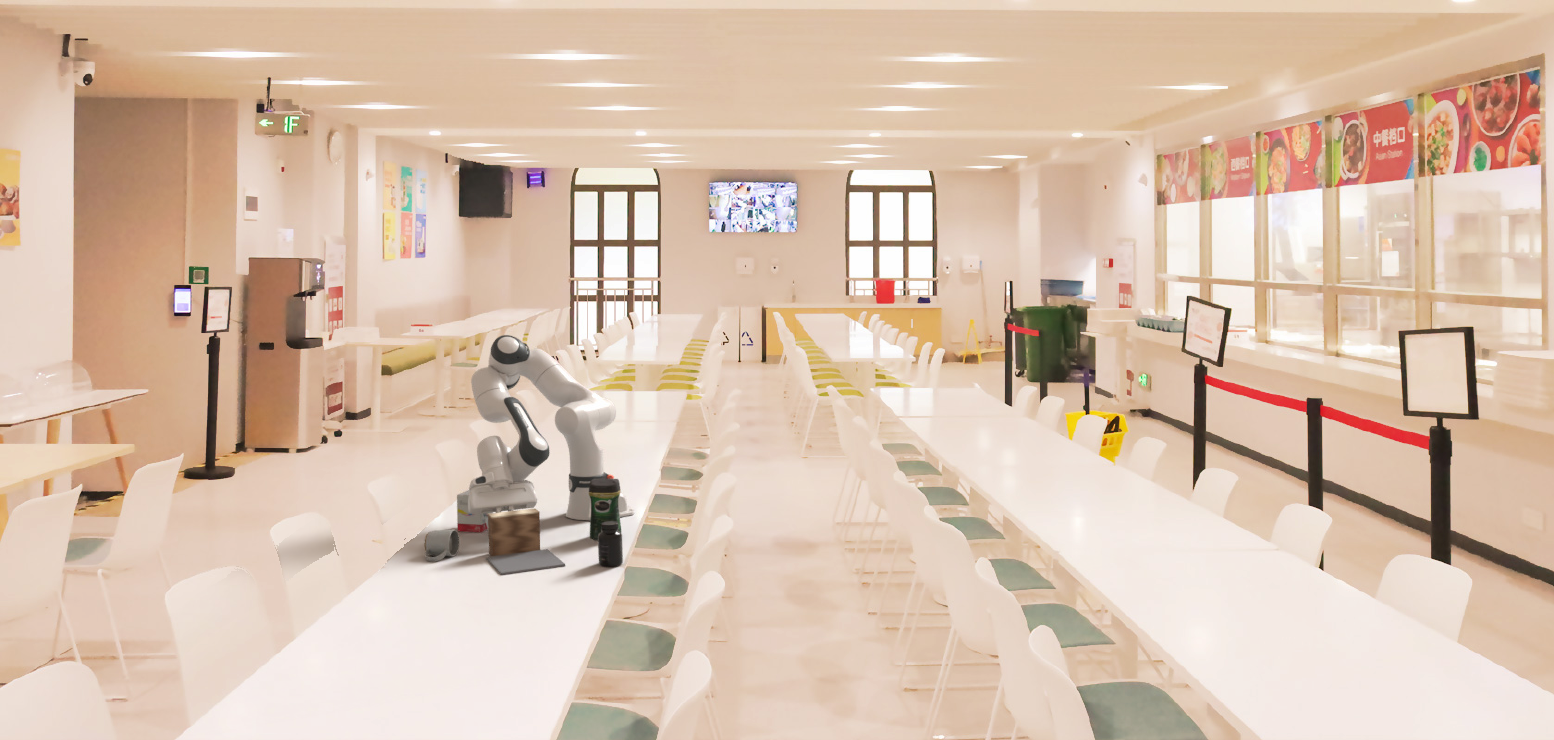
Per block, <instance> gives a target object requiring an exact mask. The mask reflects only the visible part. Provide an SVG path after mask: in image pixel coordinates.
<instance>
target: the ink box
mask: <svg viewBox="0 0 1554 740" xmlns="http://www.w3.org/2000/svg"><path fill="white" fill-rule="evenodd" d="M468 497H469V489H468V490H466V491H463V492H460V493H459V494H456V511H457V512H456V513H457V519H456V521H457V523H456V524H457V525H456V526H457V532H461V533H462V532H465V533H466V532H467V533H481V534H482V533H483V532H486V531H487V530H488V514H490V513H482V514H471V513H470V512H469V509H468ZM491 513H494V512H491Z"/></svg>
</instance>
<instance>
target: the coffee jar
mask: <svg viewBox="0 0 1554 740" xmlns="http://www.w3.org/2000/svg"><path fill="white" fill-rule="evenodd" d="M620 485H621V484H620V480H619V478H613V479H593V480H591V481H590V485H589V496H590V499H591V520H590V521H589V522H590V523H589V538H590V539H592V540H594V541H595V540H597V541H598V535H599V533H600V532H602V530H601V523H602V522H606V521H616V522H618V527H619V529H618V531H620V532H621V533H622V526H621V525H622V524H621V517H620V515H619V504H618V499H619V495H620V492H622V491H621V486H620Z"/></svg>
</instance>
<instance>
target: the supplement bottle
mask: <svg viewBox="0 0 1554 740" xmlns="http://www.w3.org/2000/svg"><path fill="white" fill-rule="evenodd" d="M618 529H619V527H618V522H616V521H606V522H602V523H601V530H602V532H600V533H599V535H598V540H597V549H598V551H597V553H598V555H597V556H598V564H599V566H600V567H604V568H616V567H618V566H621V565H622V564H623V562H624V557H623V555H624V553H623V549H624V547H623V534H622V531H621V532H620V531H618Z"/></svg>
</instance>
